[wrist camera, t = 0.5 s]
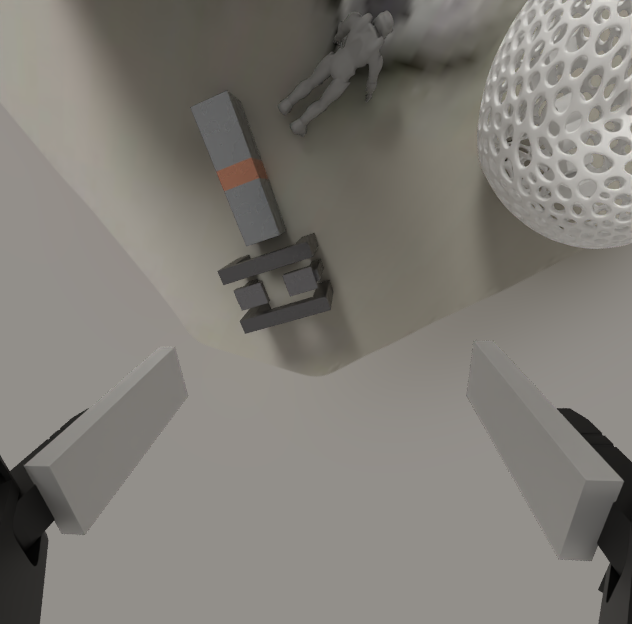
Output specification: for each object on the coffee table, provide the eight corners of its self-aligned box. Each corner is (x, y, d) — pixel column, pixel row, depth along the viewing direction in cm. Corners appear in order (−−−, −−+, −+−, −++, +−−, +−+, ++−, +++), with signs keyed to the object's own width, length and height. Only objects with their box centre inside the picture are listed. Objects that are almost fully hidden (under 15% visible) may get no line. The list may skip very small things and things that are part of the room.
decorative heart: (577, 207, 34) (781, 222, 18) (476, 245, 36) (575, 289, 20) (547, 14, 28) (799, -206, 13) (430, 75, 31) (517, -45, 15)
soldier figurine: (320, 143, 36) (417, 60, 29) (301, 149, 32) (408, 53, 25) (288, 90, 35) (382, -12, 28) (264, 89, 30) (367, -32, 23)
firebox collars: (237, 258, 39) (217, 271, 33) (314, 233, 37) (307, 241, 31) (260, 312, 42) (245, 333, 36) (333, 291, 40) (330, 309, 34)
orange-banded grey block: (207, 116, 34) (190, 107, 30) (240, 101, 33) (226, 90, 30) (256, 240, 38) (246, 246, 35) (286, 230, 38) (279, 235, 34)
